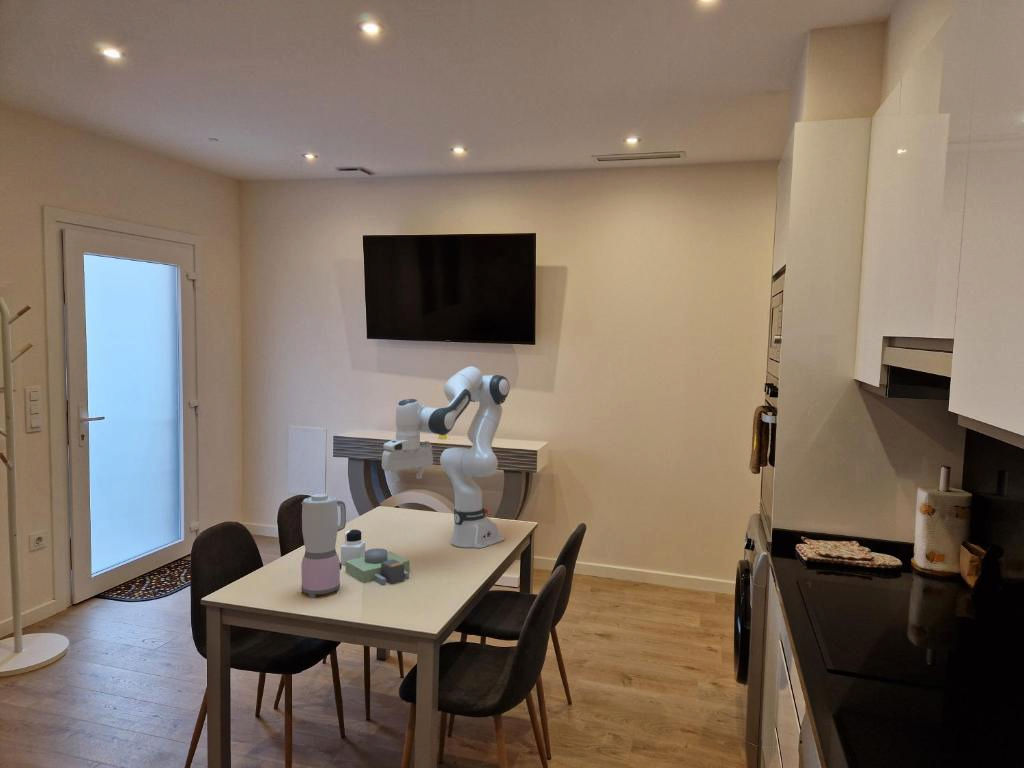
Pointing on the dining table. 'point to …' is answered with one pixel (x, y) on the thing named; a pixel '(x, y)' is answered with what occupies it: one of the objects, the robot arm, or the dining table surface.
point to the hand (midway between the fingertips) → (408, 480)
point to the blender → (321, 544)
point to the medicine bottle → (352, 546)
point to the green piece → (373, 565)
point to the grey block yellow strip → (392, 571)
